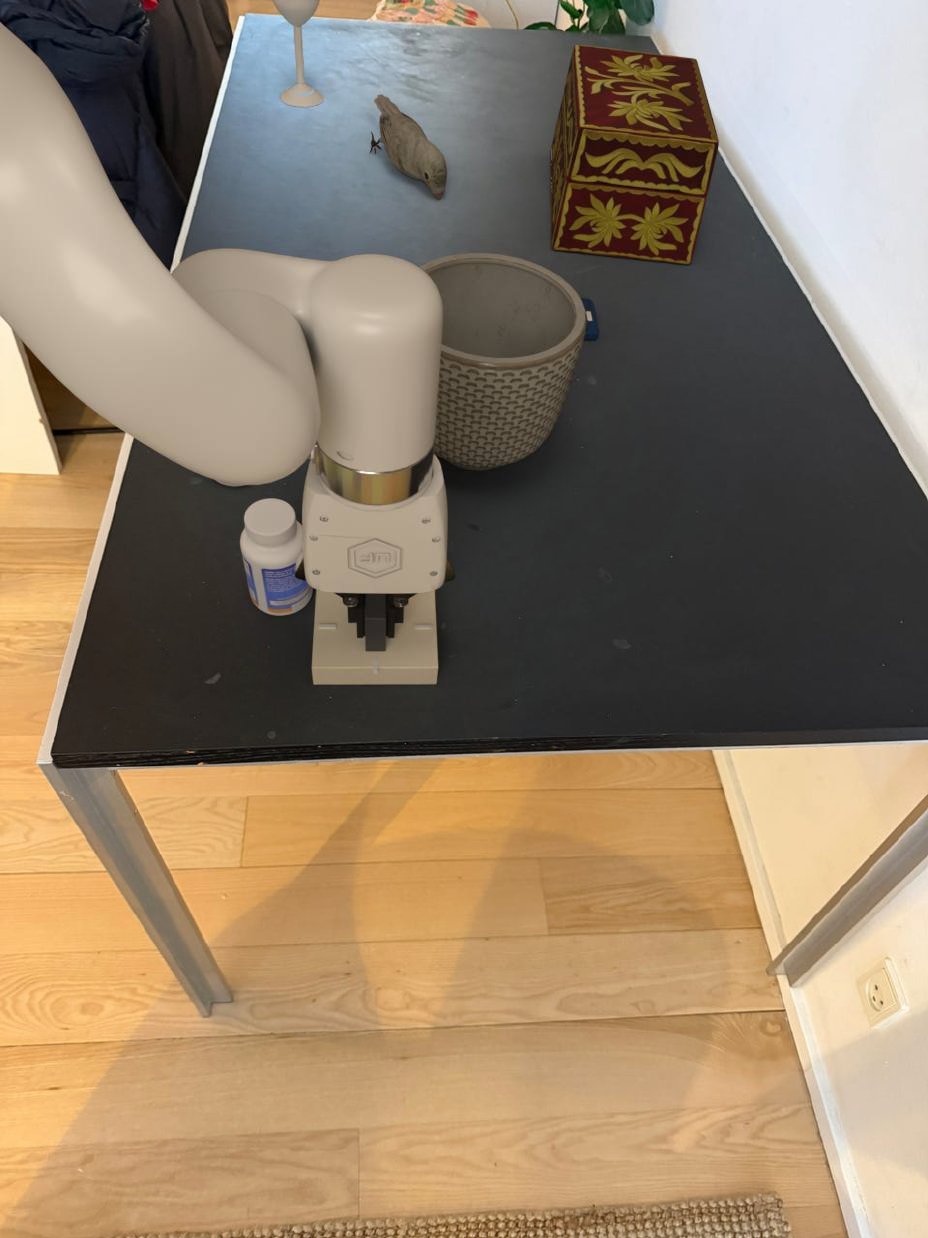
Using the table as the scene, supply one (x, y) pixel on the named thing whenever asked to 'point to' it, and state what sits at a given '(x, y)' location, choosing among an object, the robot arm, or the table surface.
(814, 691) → the table surface
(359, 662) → the dial panel
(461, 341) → the planter
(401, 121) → the decorative bird
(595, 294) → the table surface
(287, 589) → the pill bottle
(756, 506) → the table surface
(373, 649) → the program dial
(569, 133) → the decorative box
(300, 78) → the champagne flute
